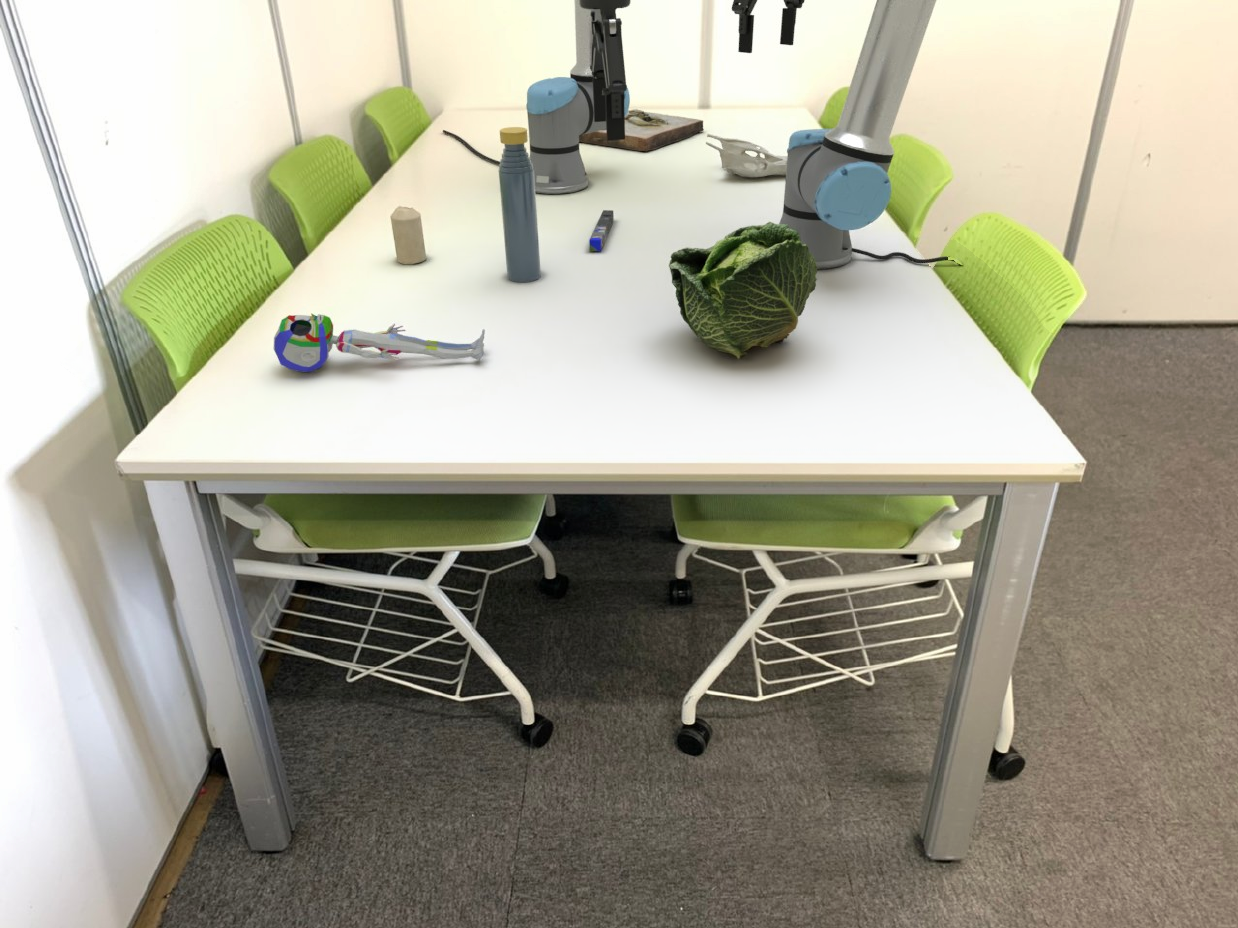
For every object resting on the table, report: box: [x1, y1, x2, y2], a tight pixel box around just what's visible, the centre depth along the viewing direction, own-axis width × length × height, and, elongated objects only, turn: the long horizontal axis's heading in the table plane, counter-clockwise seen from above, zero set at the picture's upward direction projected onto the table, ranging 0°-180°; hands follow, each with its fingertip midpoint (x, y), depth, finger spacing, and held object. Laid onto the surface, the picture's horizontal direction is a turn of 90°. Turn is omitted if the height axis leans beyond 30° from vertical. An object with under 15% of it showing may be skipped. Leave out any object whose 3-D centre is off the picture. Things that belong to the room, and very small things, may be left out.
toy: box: [273, 313, 486, 373], centre depth 132 cm, size 10×8×30 cm
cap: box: [499, 126, 529, 145], centre depth 151 cm, size 5×5×2 cm
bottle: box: [498, 143, 542, 283], centre depth 157 cm, size 6×6×25 cm
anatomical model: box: [705, 133, 788, 178], centre depth 218 cm, size 15×9×25 cm
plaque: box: [579, 108, 705, 152], centre depth 257 cm, size 30×7×30 cm
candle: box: [390, 205, 427, 265], centre depth 169 cm, size 6×6×10 cm
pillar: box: [588, 209, 615, 252], centre depth 182 cm, size 2×2×20 cm
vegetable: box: [668, 221, 818, 360], centre depth 133 cm, size 20×19×20 cm
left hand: (766, 48), depth 176 cm, fingers open, 13 cm apart
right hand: (609, 130), depth 141 cm, fingers open, 13 cm apart
